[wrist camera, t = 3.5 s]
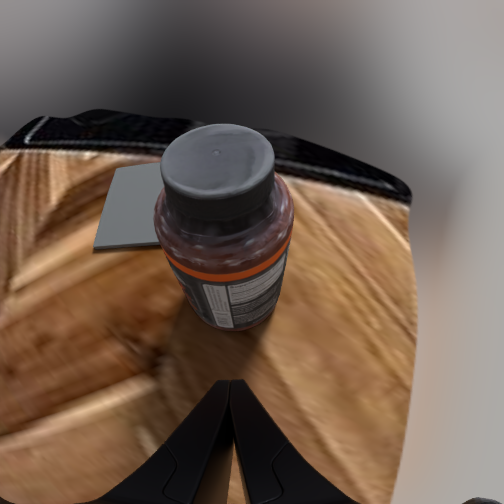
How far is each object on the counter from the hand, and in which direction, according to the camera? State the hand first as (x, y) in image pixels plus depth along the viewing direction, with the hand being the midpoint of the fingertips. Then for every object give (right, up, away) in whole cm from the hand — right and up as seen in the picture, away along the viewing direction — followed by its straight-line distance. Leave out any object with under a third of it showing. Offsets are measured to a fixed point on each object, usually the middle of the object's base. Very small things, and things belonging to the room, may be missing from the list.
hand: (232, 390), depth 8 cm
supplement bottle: (-1, +2, +11) cm, 11 cm away
